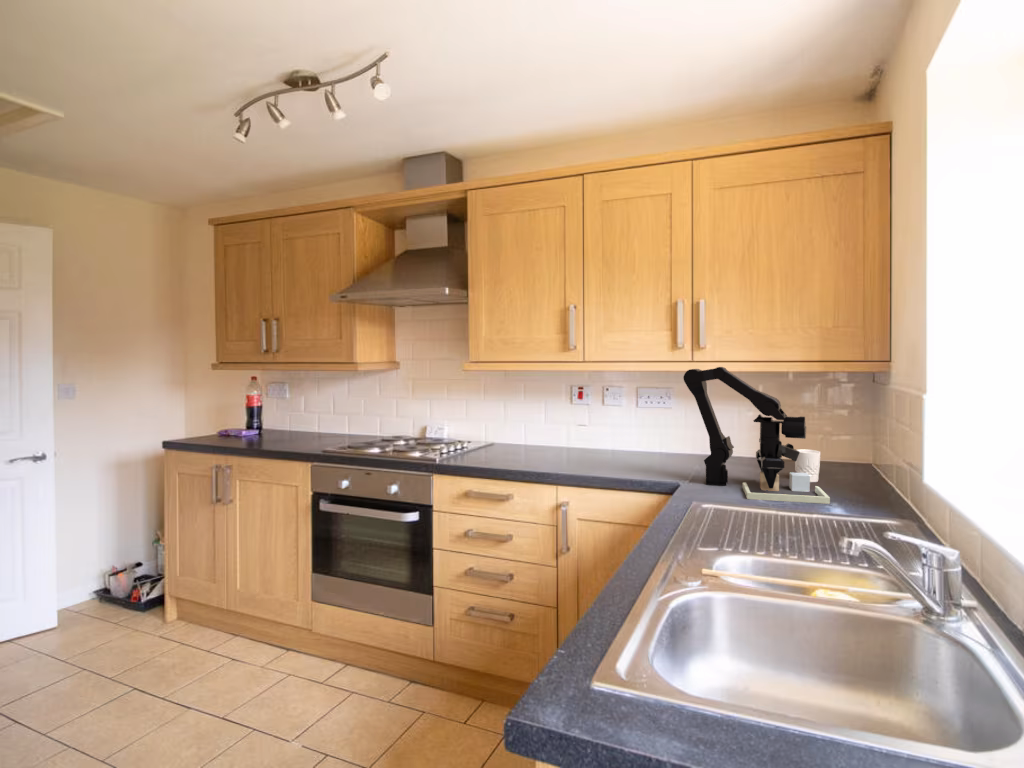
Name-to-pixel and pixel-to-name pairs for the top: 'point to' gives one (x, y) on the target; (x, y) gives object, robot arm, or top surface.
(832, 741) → the top surface
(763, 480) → the beech block
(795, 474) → the blue block
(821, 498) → the tray
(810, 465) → the white cup
